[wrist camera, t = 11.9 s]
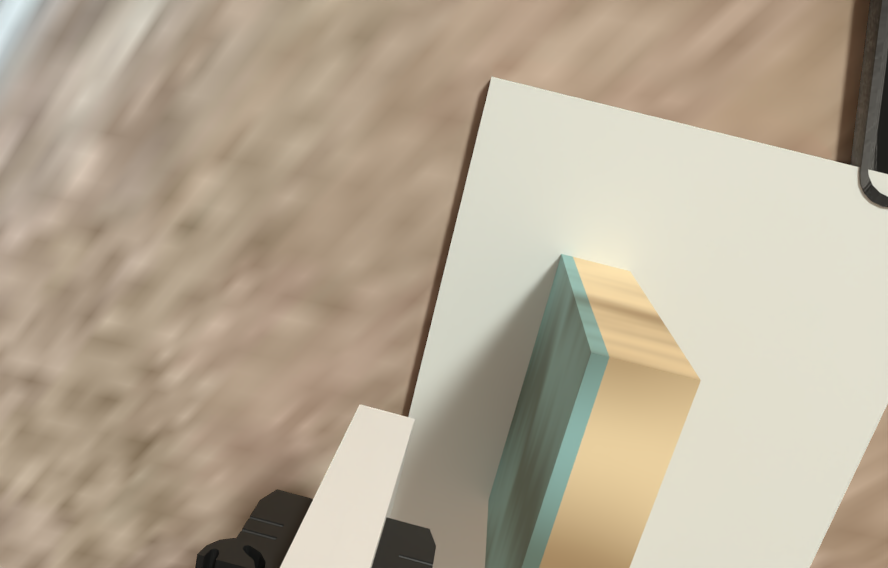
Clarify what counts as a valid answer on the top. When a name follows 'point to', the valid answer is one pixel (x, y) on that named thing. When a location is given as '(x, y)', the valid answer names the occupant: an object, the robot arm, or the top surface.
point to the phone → (873, 104)
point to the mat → (682, 311)
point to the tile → (589, 426)
